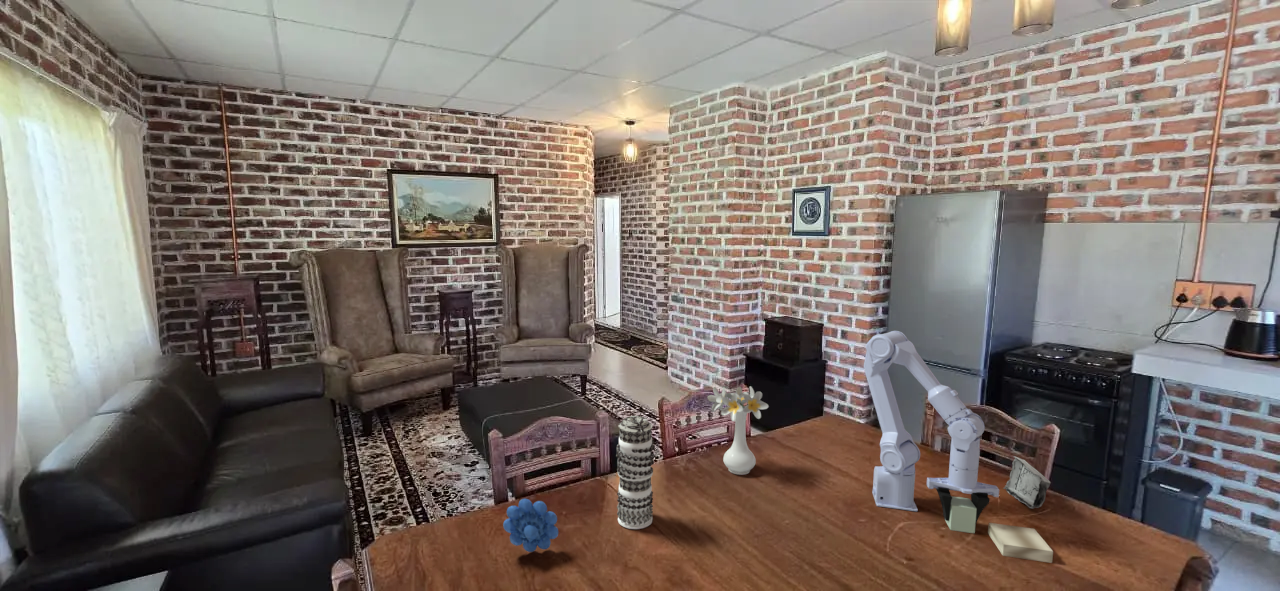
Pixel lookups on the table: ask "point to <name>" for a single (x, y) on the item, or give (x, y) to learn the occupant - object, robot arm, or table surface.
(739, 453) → the flower vase
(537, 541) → the blue flower
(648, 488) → the decorative candle
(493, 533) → the table surface
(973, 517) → the sage block
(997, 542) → the cream block
